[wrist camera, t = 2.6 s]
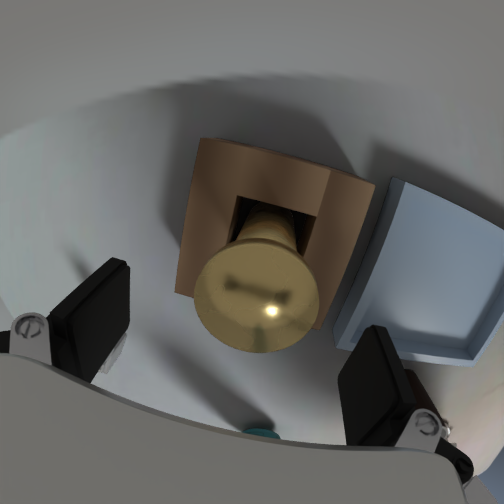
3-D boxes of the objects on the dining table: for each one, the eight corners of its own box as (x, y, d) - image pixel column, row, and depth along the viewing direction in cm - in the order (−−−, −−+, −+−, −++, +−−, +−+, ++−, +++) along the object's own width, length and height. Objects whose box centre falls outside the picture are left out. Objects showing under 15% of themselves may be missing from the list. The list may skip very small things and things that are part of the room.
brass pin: (311, 200, 23) (337, 266, 11) (292, 260, 26) (295, 363, 14) (246, 183, 24) (204, 230, 12) (231, 244, 26) (187, 335, 14)
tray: (521, 241, 22) (536, 250, 19) (464, 352, 28) (473, 367, 25) (392, 176, 22) (405, 181, 19) (332, 329, 28) (335, 348, 25)
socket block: (357, 176, 22) (375, 185, 18) (314, 298, 27) (319, 330, 22) (217, 138, 22) (200, 137, 18) (192, 266, 27) (174, 292, 22)
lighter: (121, 353, 33) (93, 395, 26) (110, 346, 33) (80, 387, 26) (132, 318, 30) (99, 362, 23) (120, 310, 30) (84, 353, 23)
